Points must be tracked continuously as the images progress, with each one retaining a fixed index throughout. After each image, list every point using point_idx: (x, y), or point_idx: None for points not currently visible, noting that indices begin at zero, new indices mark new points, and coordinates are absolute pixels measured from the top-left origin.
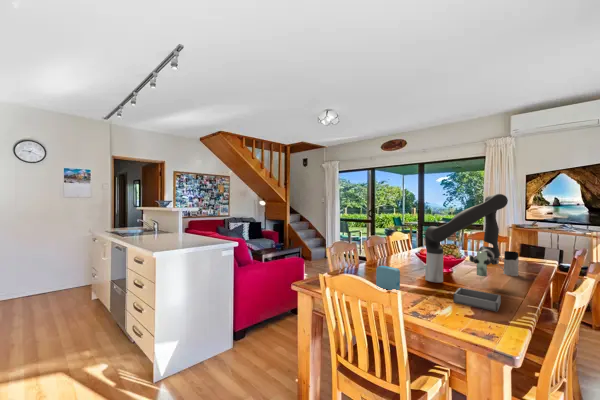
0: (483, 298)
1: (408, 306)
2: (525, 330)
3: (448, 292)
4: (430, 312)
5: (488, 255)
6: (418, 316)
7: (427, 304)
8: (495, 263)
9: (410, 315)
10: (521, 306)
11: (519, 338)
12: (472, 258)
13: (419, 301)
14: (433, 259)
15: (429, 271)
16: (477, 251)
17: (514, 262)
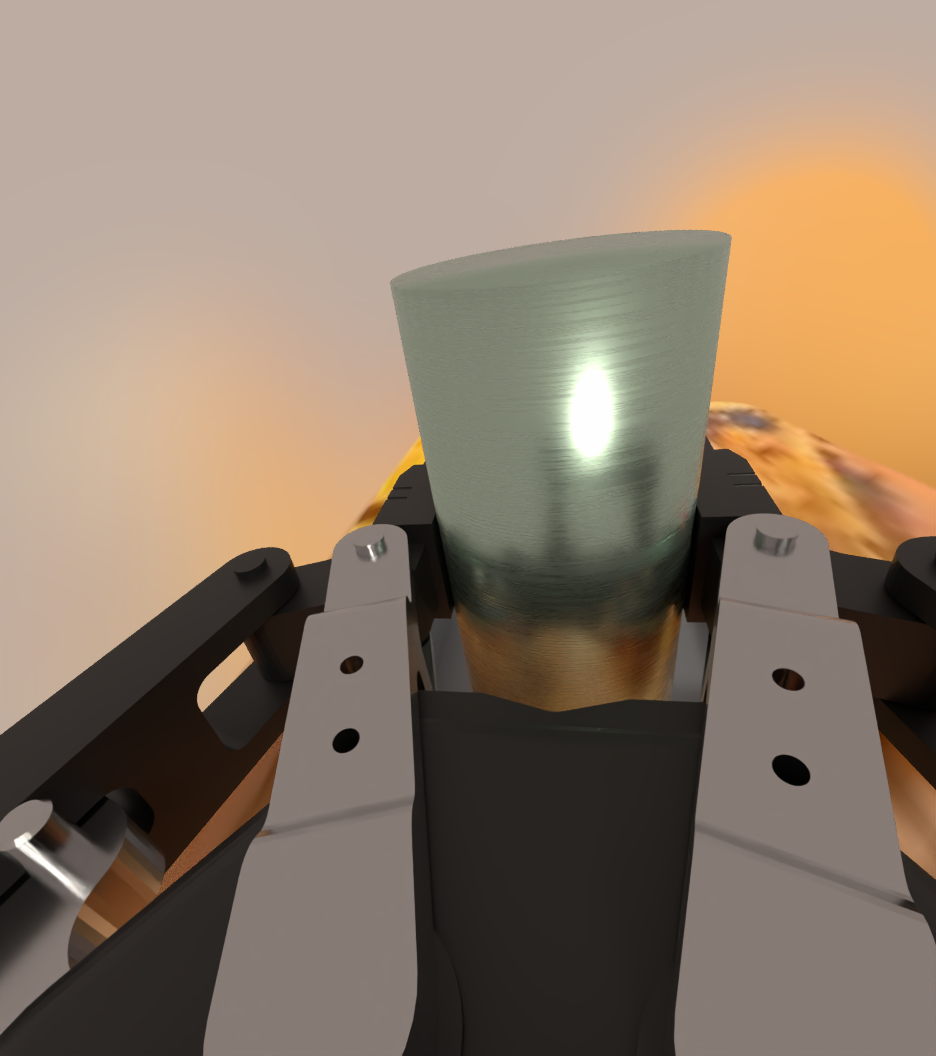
0: None
1: (830, 443)
2: (384, 491)
3: (929, 812)
4: (715, 447)
5: None
6: (724, 414)
7: (793, 492)
8: (227, 689)
9: (750, 408)
10: (252, 778)
11: (420, 450)
12: (886, 568)
13: (859, 500)
14: None
15: None
16: (724, 239)
17: None
